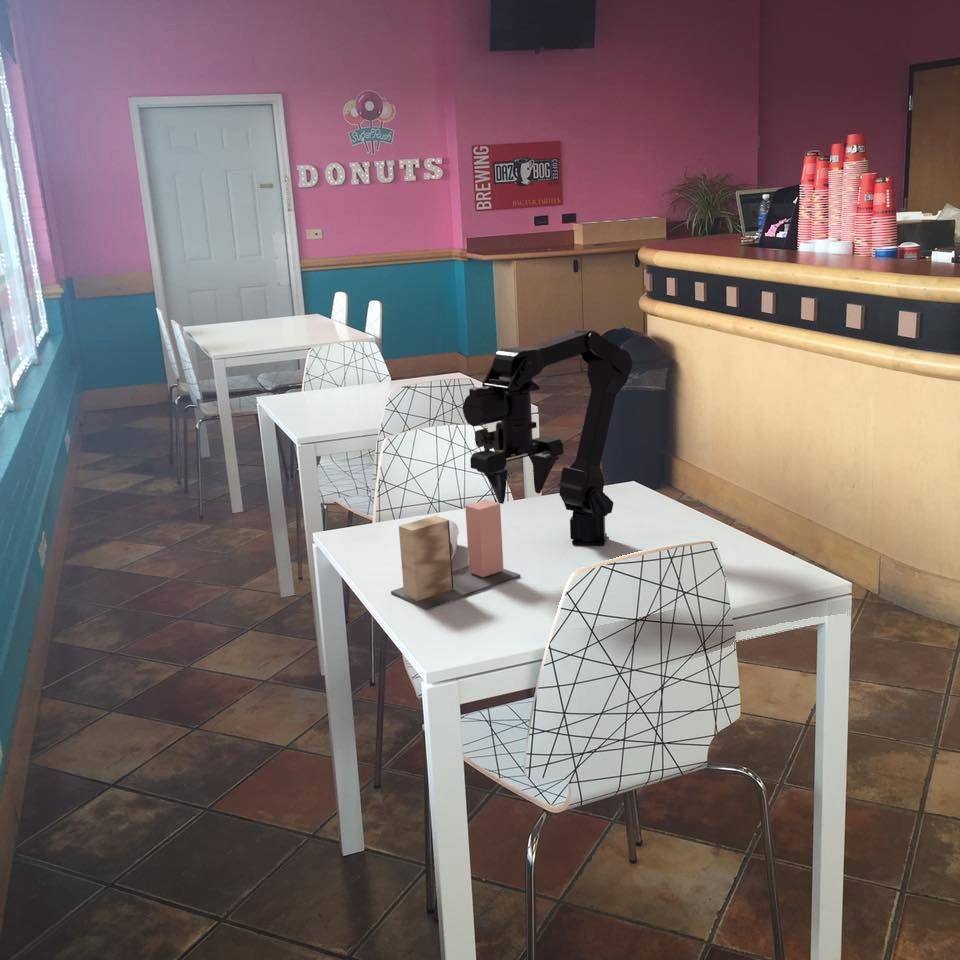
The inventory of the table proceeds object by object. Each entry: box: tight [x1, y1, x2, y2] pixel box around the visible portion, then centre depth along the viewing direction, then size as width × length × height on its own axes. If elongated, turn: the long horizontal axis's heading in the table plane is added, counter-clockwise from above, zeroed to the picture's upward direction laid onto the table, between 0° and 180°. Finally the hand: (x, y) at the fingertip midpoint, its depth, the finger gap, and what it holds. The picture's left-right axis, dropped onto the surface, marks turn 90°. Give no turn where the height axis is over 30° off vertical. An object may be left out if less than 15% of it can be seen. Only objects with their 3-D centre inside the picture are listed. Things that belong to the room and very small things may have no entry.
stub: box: [464, 499, 505, 577], centre depth 191 cm, size 5×4×13 cm
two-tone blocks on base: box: [390, 515, 522, 611], centre depth 187 cm, size 22×11×14 cm, turn 129°
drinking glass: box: [446, 518, 459, 560], centre depth 204 cm, size 7×7×15 cm
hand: (519, 498), depth 195 cm, fingers open, 9 cm apart
